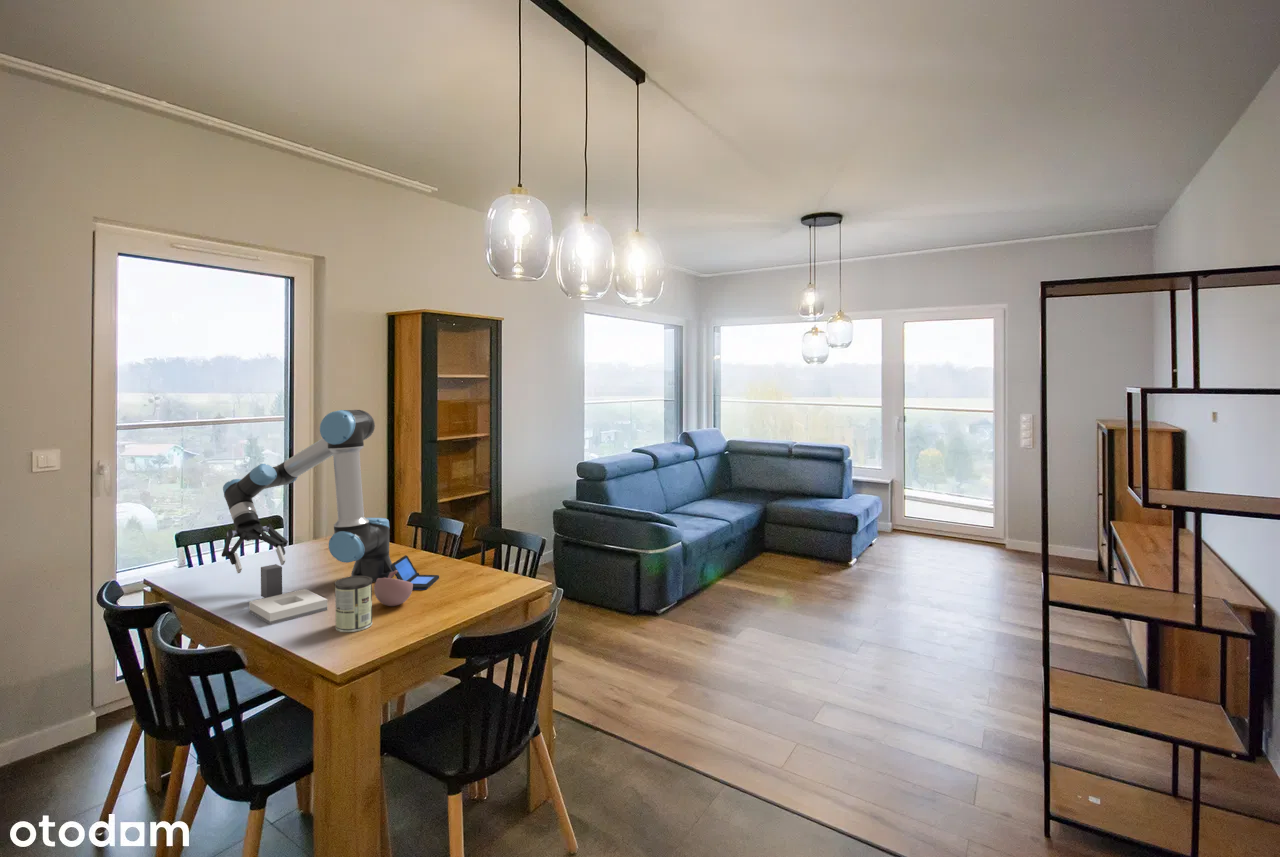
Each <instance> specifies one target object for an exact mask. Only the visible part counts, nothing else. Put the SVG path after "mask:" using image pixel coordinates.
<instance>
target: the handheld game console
mask: <svg viewBox="0 0 1280 857" xmlns="http://www.w3.org/2000/svg"><path fill="white" fill-rule="evenodd" d="M391 569H392V571H395V570H397V571H398V572H397V573H396V574H394V577H395V578H396V579H399V580H404V581H408V582H411V583H413V589H412V591H413V590H415V591H417V590H418V591H424V590H427V589H429V588H430V587H431V586H432V585H433V584H434V583H436V582H437V581H438V580H439V579H440V575H439V574H420V573H419V572H418V571H417V570H416V568H415V567H414V565H413V562H412V561H411V559H410V558H409V556H408V555H404V556H402V557H400V558H398V559H397V560H396V561H394V562H392V564H391Z"/></svg>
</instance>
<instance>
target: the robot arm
mask: <svg viewBox="0 0 1280 857" xmlns="http://www.w3.org/2000/svg"><path fill="white" fill-rule="evenodd" d="M375 424H376V422H375V419H374V417H373V416H372V415H371V414H370V413H368V412H367V411H364V410H361V409H340V410H335V411H332V412H328V413H327V414H326V415H325V416H324V417H323V418H322V419H321V422H320V425H319V434H320V436H321V438H320V439H319V440H317V441H316V442H314V443H313V444H311V445H309V446H307V447H306V448H304V449H302V450H301V451H299V452H298V453H296V454H294V455H293V456H291V457H289V458H287V459H285V461H283V462H281V463H280V464H278V465H276V466H271V465H270V464H266V463H259V465H257V466H255V467H254V468H252V469H251V470H250V472H248V473H247V474H245V476H244V477H242V478H234V479H231V480H228V481H226V482H225V483H224V484H223V486H222V490H223V497H224V499H225V502H226V504H227V507H228V510H229V512H230V516H231V519H232V521H233V525H234V528H235V530H232V529H231V528H230V529H228V530H227V532H226V541H225V543H224V547H223V550H222V552H221V557H222V558H225V557H227V559H229V561H230V564H231V565H234V567H235V569H236V573H237V574H241V572H242V571H243V570H242V569H243V567H242V564H241V561H240V559H239V558H240V557H239V555H238V552H237V550H238V549H239V548H240V546H241V544H242V543H243V542H244V541H246V542H250V541H254V540H257V539H258V540H259V541H263V542H265V543H266V544H269V545H271V546H272V547H273V548H276V549H275V553H276V555H277V558H278V561H279V563H280V566H284V565H285V562H286V558H285V555H286V550H285V547H286V546H287V544H288V541H289V540H287V539H286V538H285V537H284V536H282V534H280V533H279V532H278V531H277V530H276V529H275V528H274V527H273V525H272V524H271V523H267V525H265V526H263V525H262V524H261V521H260V519H259V515H258V514H257V509H256V508H255V504H254V502H253V498H255V497H256V496H257V495H259V494H260V493H261V492H262V491H263V490H265V489H266V490H267V489H271V488H275V487H279V486H280V487H281V486H285V485H289V484H290V485H291V484H292V483H295V482H296V480H298V477H299V476H301V475H303V474H305V473H306V472H308V471H309V470H312V469H313V468H315V467H316V466H318V465H320V464H322V463H323V462H325V461H326V460H328V459H329V458H331V457H333V469H334V470H333V471H334V483H335V497H336V510H337V512H336V513H337V521H335V523H334V524H333V532H334V533H333V534H332V535H331V536H330V538H329V541H328V551H329V554H330V555H331V556H332V557H333V558H334V559H336V561H338V562H341V563H345V564H347V563H352V562H354V565H353V568H352V569H351V570H352V571H351V575H350V577H352V576H368V577H371V578H372V583H376V580H377V579H378V578H388V576H389V574H390V572H393V571H392V569H391V564H393V562H392V560H391V557H390V521H389V519H387V518H385V517H365V509H364V497H363V496H364V495H363V480H362V469H361V466H362V465H361V454H360V452H361V450H362V449H364V447H365V446H364V441H365V440H367V439H369V438H370V437H371V436H372V435H373V433H375V432H374V431H375V428H376V425H375ZM235 535H236V536H237V537H239V538H238V539H237V541H236V542H235V544H234V545H233V547H231V549H230V544H231V542H232V539H233V538H234V537H235ZM229 549H230V550H229ZM393 577H395V574H394V575H393V576H392V578H393Z"/></svg>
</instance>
